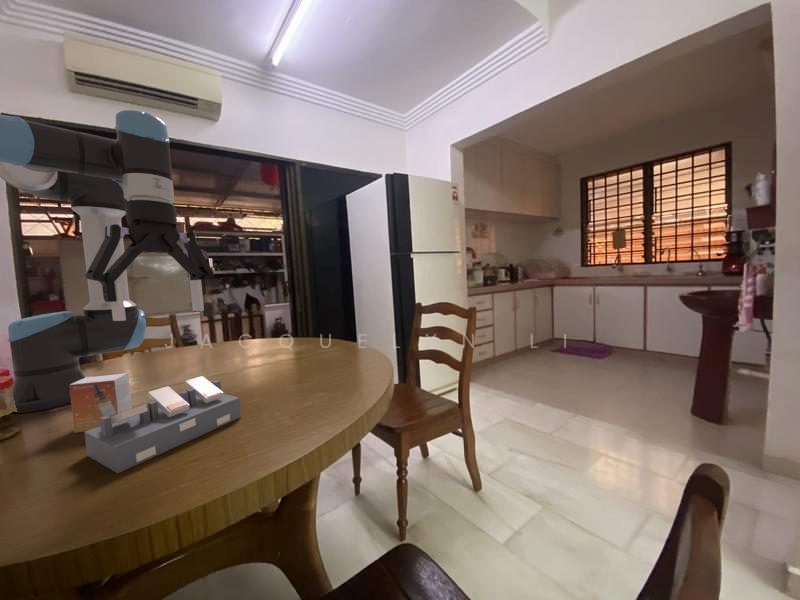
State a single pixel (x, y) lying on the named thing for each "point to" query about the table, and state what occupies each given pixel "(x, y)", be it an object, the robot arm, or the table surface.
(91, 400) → the small box
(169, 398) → the rocker
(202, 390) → the rocker
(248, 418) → the table surface
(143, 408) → the rocker
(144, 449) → the console
